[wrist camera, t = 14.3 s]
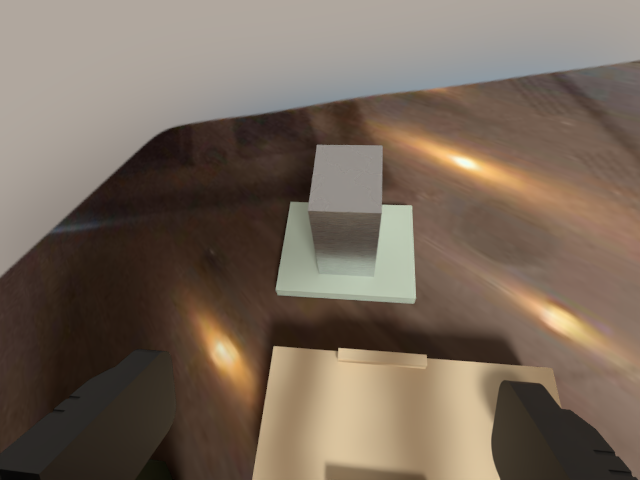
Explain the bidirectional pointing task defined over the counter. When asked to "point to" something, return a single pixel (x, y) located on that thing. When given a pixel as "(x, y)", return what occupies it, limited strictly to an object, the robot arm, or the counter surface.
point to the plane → (381, 415)
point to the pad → (386, 285)
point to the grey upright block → (346, 208)
